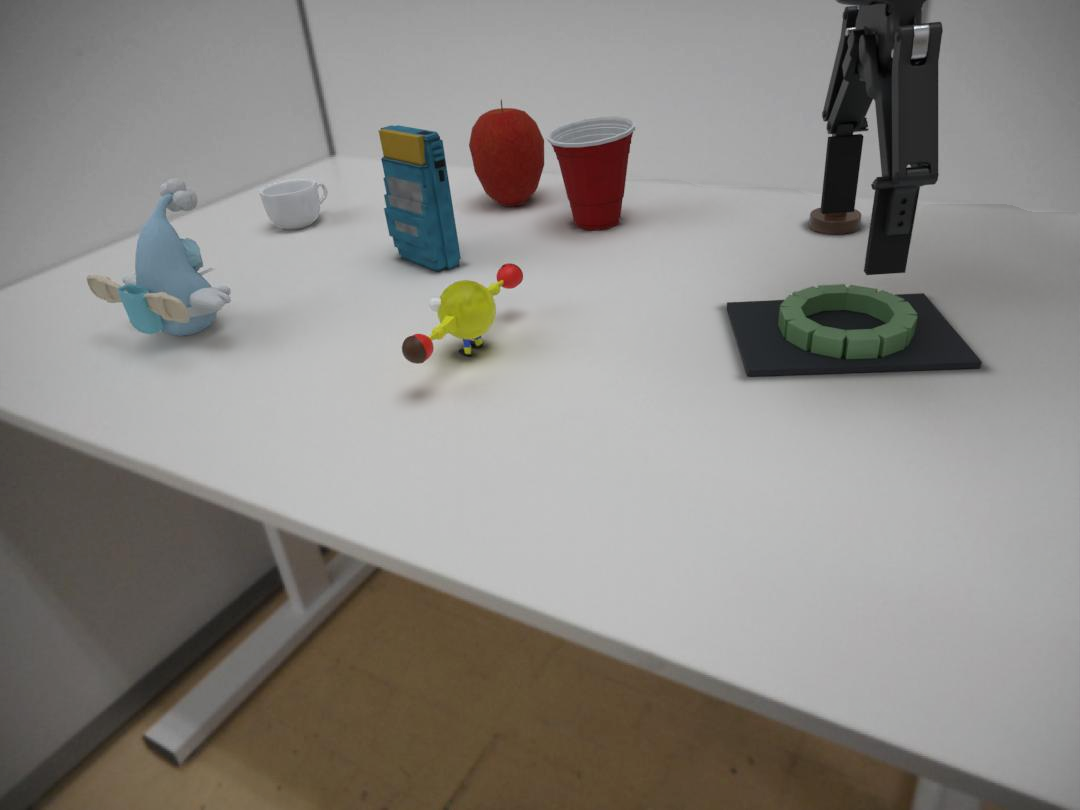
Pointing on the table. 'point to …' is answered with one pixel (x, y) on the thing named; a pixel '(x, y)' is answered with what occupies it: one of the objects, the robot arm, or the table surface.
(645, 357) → the table surface
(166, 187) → the toy figure
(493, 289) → the toy figure
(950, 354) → the mat
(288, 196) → the teacup
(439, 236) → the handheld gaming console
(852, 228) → the peg stand
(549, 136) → the plastic cup
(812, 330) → the ring
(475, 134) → the apple
